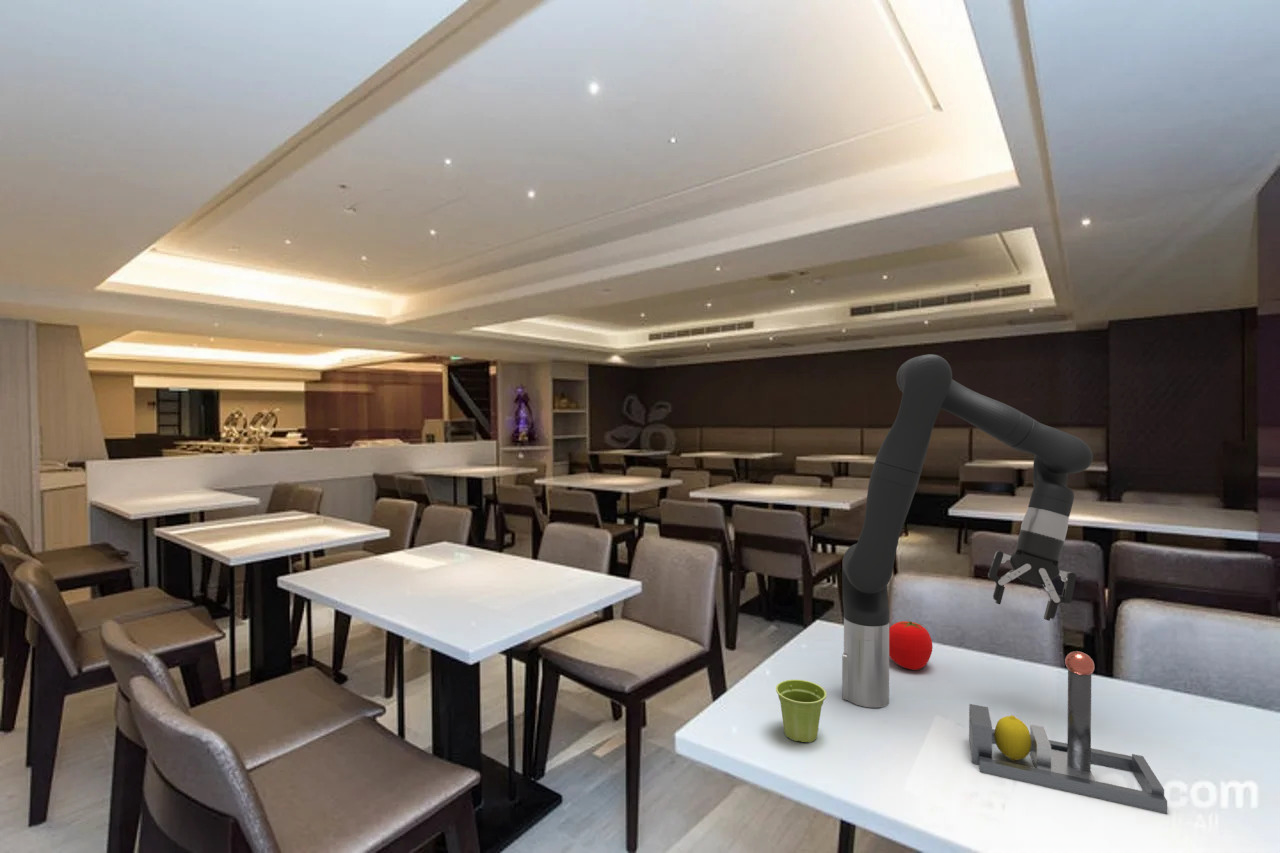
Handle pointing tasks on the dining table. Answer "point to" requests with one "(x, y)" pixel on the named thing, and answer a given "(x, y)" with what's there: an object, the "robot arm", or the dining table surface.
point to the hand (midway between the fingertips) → (1021, 611)
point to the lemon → (1012, 738)
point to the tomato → (909, 645)
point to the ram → (1070, 725)
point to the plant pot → (800, 708)
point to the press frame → (982, 755)
